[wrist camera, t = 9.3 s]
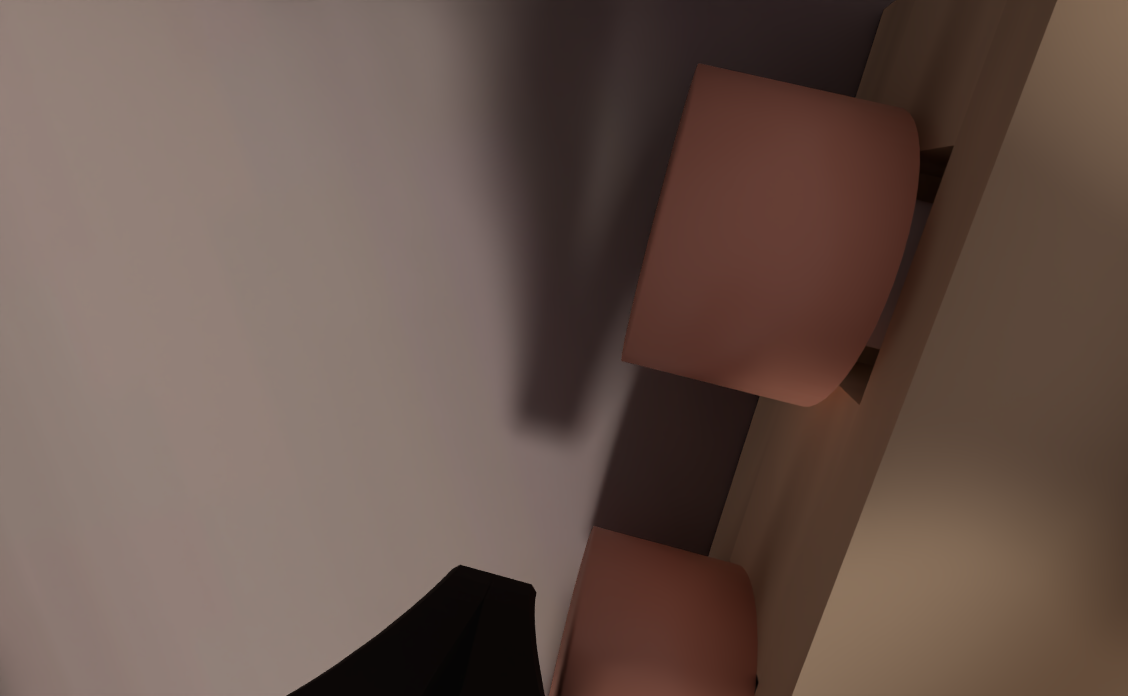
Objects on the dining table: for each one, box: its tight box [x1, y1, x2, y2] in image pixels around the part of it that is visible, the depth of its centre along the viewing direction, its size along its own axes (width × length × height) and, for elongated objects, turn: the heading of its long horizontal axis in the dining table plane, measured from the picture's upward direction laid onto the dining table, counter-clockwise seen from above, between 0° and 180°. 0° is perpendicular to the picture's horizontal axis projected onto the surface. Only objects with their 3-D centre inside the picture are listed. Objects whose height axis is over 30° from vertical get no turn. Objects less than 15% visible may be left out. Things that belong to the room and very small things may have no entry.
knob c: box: [621, 63, 933, 407], centre depth 9 cm, size 8×4×4 cm, turn 77°
